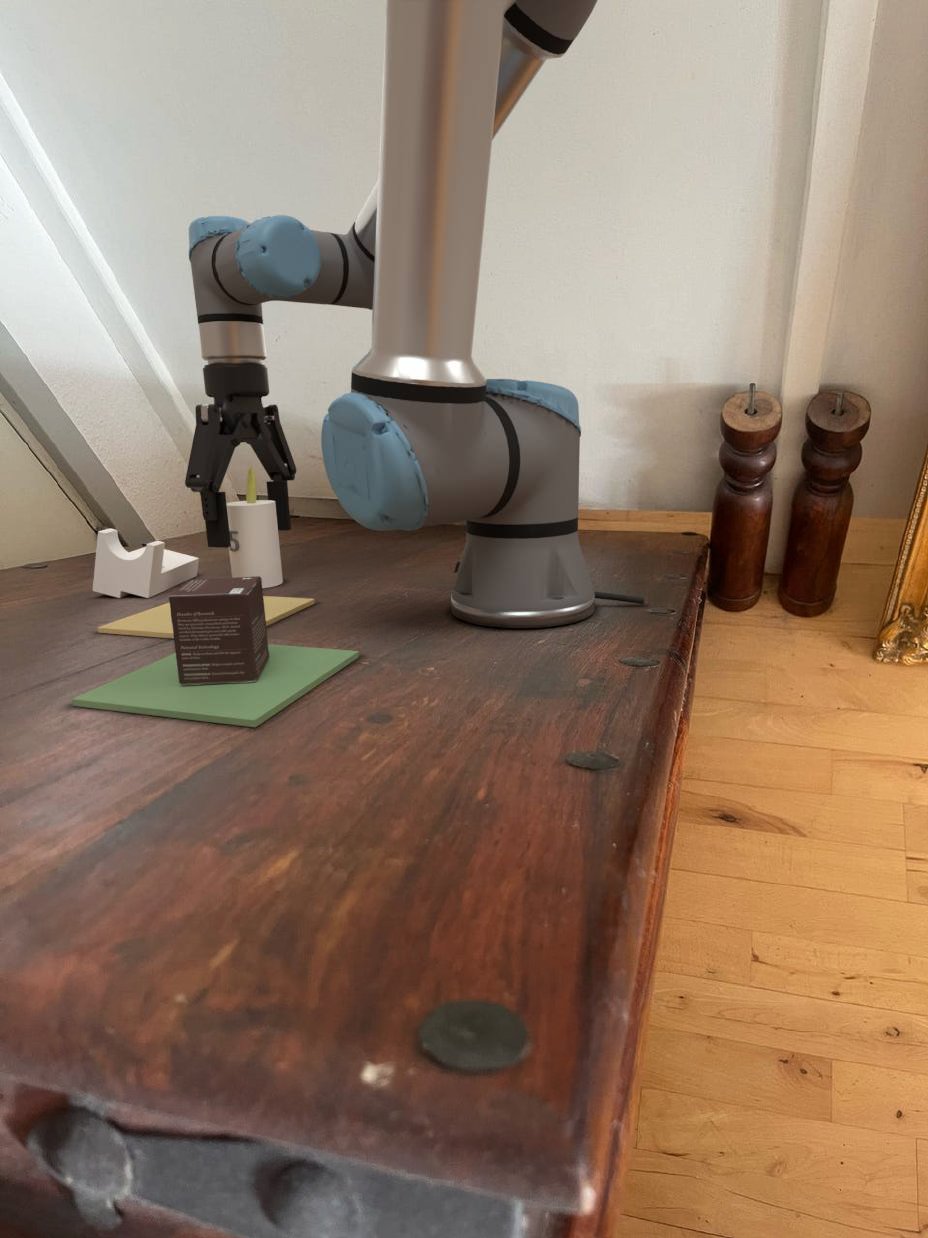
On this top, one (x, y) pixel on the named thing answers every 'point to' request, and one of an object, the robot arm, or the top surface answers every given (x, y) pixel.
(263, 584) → the candle
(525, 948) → the top surface
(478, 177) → the robot arm
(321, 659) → the green mat
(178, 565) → the bracket
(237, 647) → the box
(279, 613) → the cream mat
